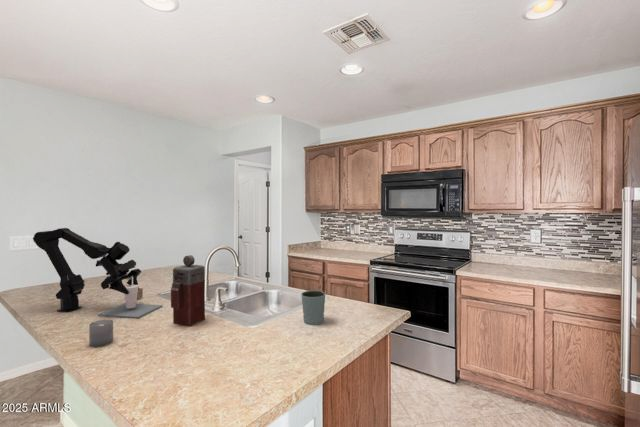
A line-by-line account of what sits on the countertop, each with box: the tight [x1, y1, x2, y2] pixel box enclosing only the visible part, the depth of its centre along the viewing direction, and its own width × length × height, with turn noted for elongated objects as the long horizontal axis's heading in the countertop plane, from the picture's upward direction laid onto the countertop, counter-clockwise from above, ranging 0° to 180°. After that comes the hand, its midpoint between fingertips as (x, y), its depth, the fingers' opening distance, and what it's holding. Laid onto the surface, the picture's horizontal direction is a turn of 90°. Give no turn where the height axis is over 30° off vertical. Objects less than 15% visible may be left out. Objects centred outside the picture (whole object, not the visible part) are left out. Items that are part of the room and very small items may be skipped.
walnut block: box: [136, 287, 144, 301], centre depth 164 cm, size 5×5×5 cm
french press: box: [170, 254, 206, 327], centre depth 132 cm, size 9×11×28 cm
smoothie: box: [123, 277, 140, 308], centre depth 145 cm, size 6×6×14 cm
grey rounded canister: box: [88, 319, 114, 348], centre depth 112 cm, size 7×7×7 cm
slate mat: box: [97, 302, 163, 320], centre depth 145 cm, size 20×16×1 cm
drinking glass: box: [300, 290, 326, 326], centre depth 134 cm, size 10×10×12 cm
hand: (133, 291), depth 145 cm, fingers closed on smoothie, 6 cm apart
